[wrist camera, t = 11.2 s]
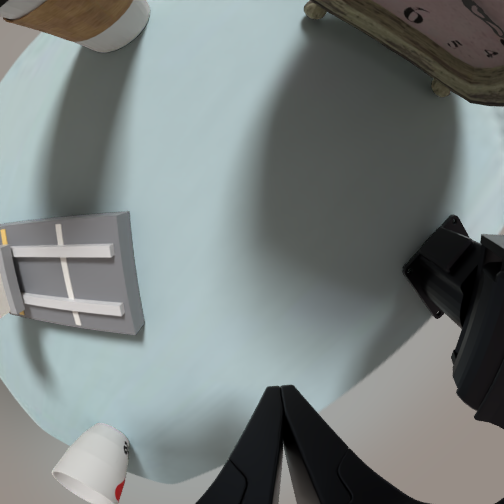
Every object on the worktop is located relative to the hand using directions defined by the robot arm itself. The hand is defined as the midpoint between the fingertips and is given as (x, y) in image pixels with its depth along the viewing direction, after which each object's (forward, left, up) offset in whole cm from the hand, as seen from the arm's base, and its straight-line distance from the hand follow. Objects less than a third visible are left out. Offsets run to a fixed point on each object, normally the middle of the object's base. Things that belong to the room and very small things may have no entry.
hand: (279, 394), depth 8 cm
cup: (-2, +30, -12) cm, 32 cm away
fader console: (+13, +13, -12) cm, 22 cm away
